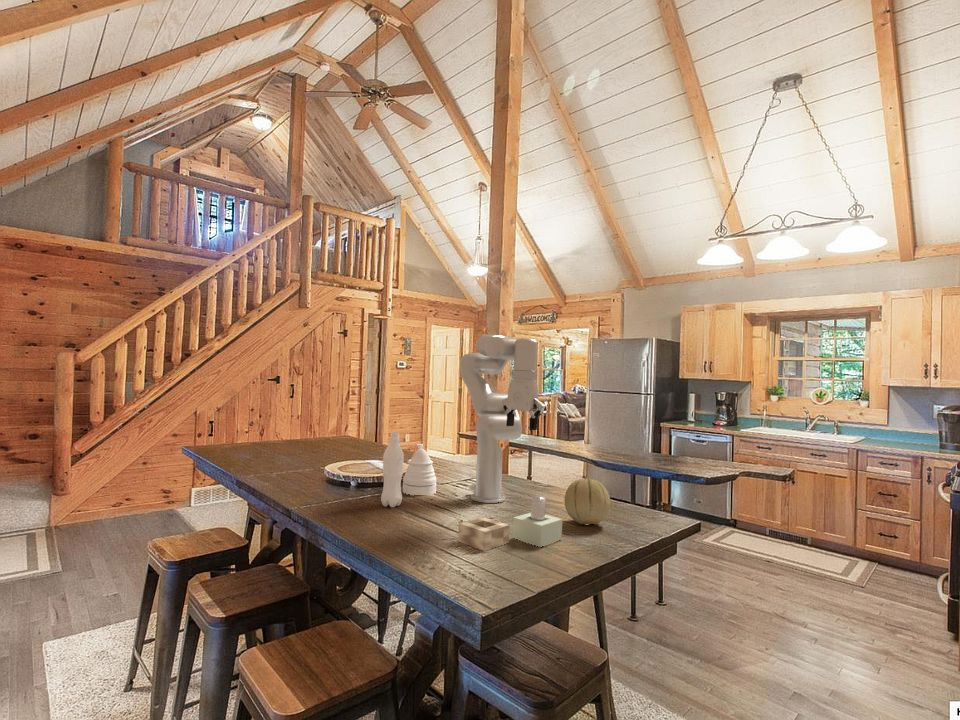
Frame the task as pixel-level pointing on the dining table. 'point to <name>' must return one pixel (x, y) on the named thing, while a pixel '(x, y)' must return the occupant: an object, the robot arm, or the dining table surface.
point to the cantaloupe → (587, 501)
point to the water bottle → (392, 472)
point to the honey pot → (419, 474)
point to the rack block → (537, 529)
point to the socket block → (483, 533)
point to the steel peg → (538, 508)
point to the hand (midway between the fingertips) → (521, 428)
